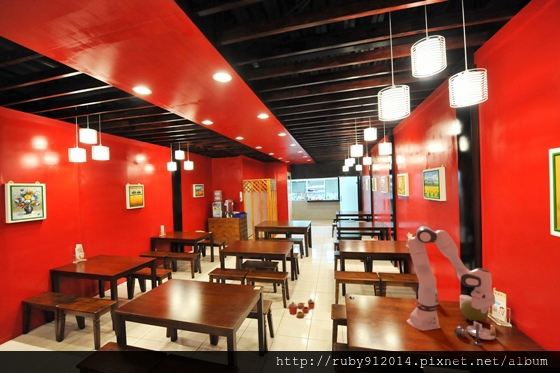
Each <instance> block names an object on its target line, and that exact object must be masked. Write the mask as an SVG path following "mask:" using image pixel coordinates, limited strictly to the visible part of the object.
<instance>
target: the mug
mask: <svg viewBox="0 0 560 373" xmlns="http://www.w3.org/2000/svg"><path fill="white" fill-rule="evenodd" d="M471 298H472V296H470V295H466V294H461V295H459V307H460V309H461V304H462V303H464V302H465V301H469V300H470V301H471Z"/></svg>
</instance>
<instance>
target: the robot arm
mask: <svg viewBox="0 0 560 373" xmlns="http://www.w3.org/2000/svg"><path fill="white" fill-rule="evenodd" d="M433 243H434V244H435V245H436V247H437V248H438V250H439V251H440V253H442V255H443V256H444V257H446V258H447V259H448V260H449V261H450V263H451V265H452V266H453V268H454V270H455V275H456V278H457V279H458V280H459V281H460V283H461V284H462V285H463V286H464V287H466V288H474V289H473V290H472V291H471V292H470V295H471V297H472V298H471V305H472V307H473V308H475V309H481V313H486V312H487V310H488V308H489V307H490V306H493V305H495V304H496V297H495V294H494V292H493V288H492V286H493V281H492V279H493V278H492V273H491V272H490V271H489V270H487V269H486V268H482V267H476V268H475V269H473V270H470V269H469V268H468V267H466V266H465V264H464V263H463V261H462V260H461V258H460V257H459V248H458V246H457V244H456V243H455V241H454V239H453V238H452V237H451V236H450V235H449V233H448V232H447V231H445V230H443V229H438V230H433V229H432V228H431V227H430V226H429V225H426V224H421V225H419V226H418V227H417V229H416V231H415V235H414V236H413V237H410V238H409V239H408V240H407V247H408V250H409V255H410V257H411V262H412V264H413V267H414V271H415V275H416V277H417V280H418V290H417V295H418V296H417V297H418V299H417V300H418V301H417V303H416V302H414V305H413V306H414V307H415V308H414V310H413V311H412V312H411V313H410V316H409V318H408V319H407V320H406V322H407V323H408V325H409V326H411V327H413V328H414V329H416V330H419V331H430V330H435V329H436V330H437V329H440V328H441V326H440V324H439V317H438V313H437V305H436V304H435V291H436V288H437V278H436V276H435V275H434V273H433V271H432V268H431V264H430V259H429V257H428V253H427V250H426V246H425V244H433Z"/></svg>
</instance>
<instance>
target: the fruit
mask: <svg viewBox="0 0 560 373" xmlns="http://www.w3.org/2000/svg"><path fill="white" fill-rule="evenodd" d="M460 312H461V313H462V315H463V316H464V317H465V318H466V319H467V320H469V321H471V322H474V321H475V322H478V321H483V320H485V319H487V318H488V316H489V310H488V309H487V312H486V313H481V309H475V308H473V307H472V305H471V301H470V300H469V301H465V302H464V303H462V304H461V308H460Z"/></svg>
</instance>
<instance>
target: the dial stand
mask: <svg viewBox="0 0 560 373" xmlns="http://www.w3.org/2000/svg"><path fill="white" fill-rule="evenodd" d="M473 326H474V329H476V337H475V340H473V344H474V345H476V346H478V347H481V346H483V345H482V342H481V341H480V339H479V331H481V332H482V327H483V324H482V323H479V322H478V321H473Z"/></svg>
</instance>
